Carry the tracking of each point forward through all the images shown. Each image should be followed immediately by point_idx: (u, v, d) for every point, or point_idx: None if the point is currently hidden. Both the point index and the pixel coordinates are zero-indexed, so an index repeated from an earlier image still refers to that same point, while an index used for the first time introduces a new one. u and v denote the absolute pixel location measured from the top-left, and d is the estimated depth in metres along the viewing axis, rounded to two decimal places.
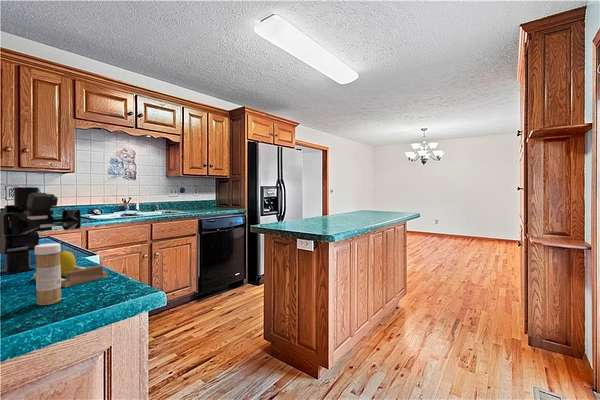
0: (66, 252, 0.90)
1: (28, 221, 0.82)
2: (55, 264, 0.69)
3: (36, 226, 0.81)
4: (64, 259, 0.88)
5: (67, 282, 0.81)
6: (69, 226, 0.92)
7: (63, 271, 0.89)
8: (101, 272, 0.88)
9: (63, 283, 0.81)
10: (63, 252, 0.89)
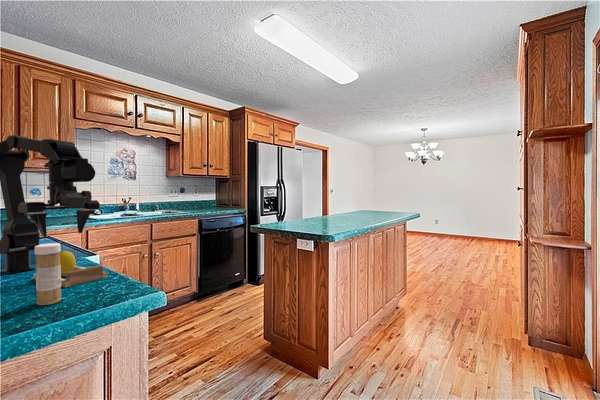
0: (66, 252, 0.90)
1: (41, 226, 0.85)
2: (55, 264, 0.69)
3: (42, 234, 0.86)
4: (64, 259, 0.88)
5: (67, 282, 0.81)
6: (77, 217, 0.95)
7: (63, 271, 0.89)
8: (101, 272, 0.88)
9: (63, 283, 0.81)
10: (63, 252, 0.89)
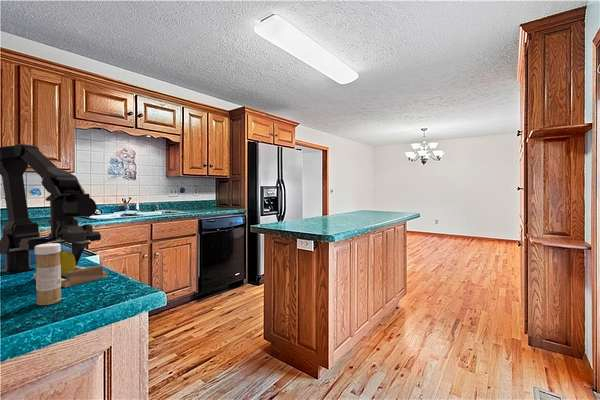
0: (66, 252, 0.90)
1: None
2: (55, 264, 0.69)
3: None
4: (64, 259, 0.88)
5: (67, 282, 0.81)
6: (72, 249, 0.94)
7: (63, 271, 0.89)
8: (101, 272, 0.88)
9: (63, 283, 0.81)
10: (63, 252, 0.89)
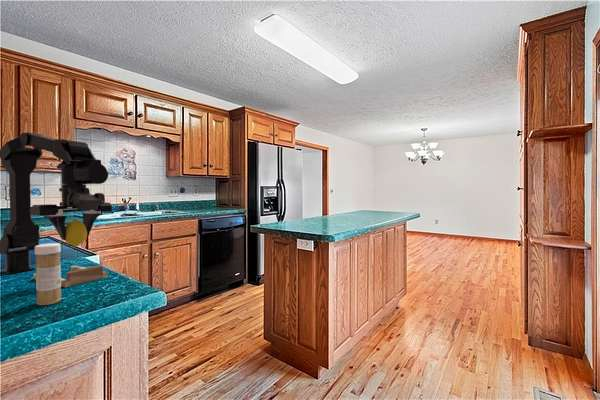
0: (77, 222, 0.87)
1: (60, 229, 0.83)
2: (55, 264, 0.69)
3: (61, 237, 0.84)
4: (75, 228, 0.85)
5: (67, 282, 0.81)
6: (83, 220, 0.91)
7: (74, 241, 0.85)
8: (101, 272, 0.88)
9: (63, 283, 0.81)
10: (74, 222, 0.86)
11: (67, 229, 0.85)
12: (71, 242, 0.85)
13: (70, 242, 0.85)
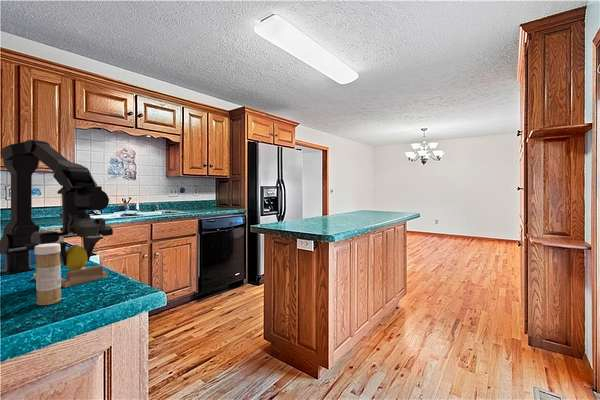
0: (78, 247, 0.87)
1: (61, 255, 0.83)
2: (55, 264, 0.69)
3: (61, 263, 0.85)
4: (76, 254, 0.86)
5: (67, 282, 0.81)
6: (84, 244, 0.91)
7: (75, 267, 0.86)
8: (101, 272, 0.88)
9: (63, 283, 0.81)
10: (75, 247, 0.86)
11: (68, 255, 0.85)
12: (72, 268, 0.85)
13: (71, 268, 0.85)
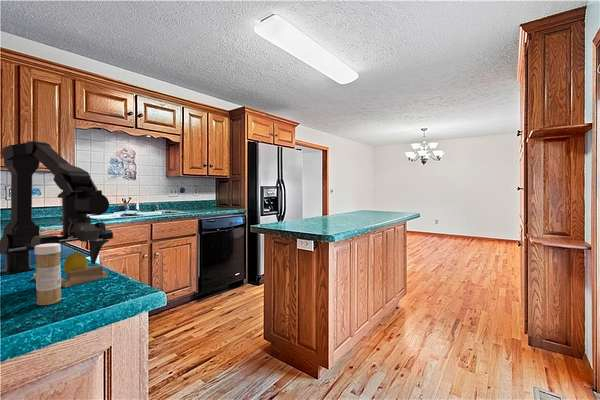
0: (78, 254, 0.87)
1: None
2: (55, 264, 0.69)
3: None
4: (76, 261, 0.85)
5: (67, 282, 0.81)
6: (90, 247, 0.92)
7: None
8: (101, 272, 0.88)
9: (63, 283, 0.81)
10: (75, 255, 0.86)
11: (68, 263, 0.85)
12: None
13: None
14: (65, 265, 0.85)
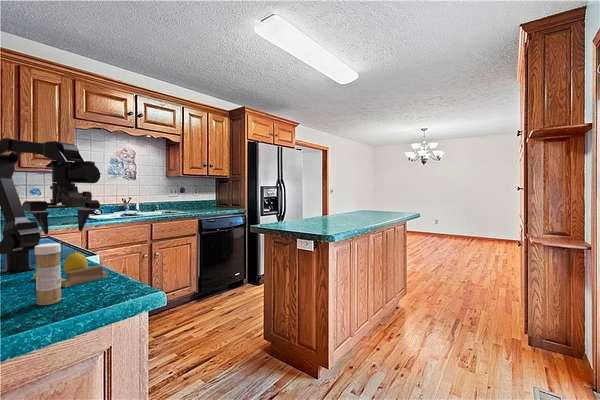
0: (78, 254, 0.87)
1: (43, 224, 0.89)
2: (55, 264, 0.69)
3: (44, 232, 0.90)
4: (76, 261, 0.85)
5: (67, 282, 0.81)
6: (78, 216, 0.99)
7: None
8: (101, 272, 0.88)
9: (63, 283, 0.81)
10: (75, 255, 0.86)
11: (68, 263, 0.85)
12: None
13: None
14: (65, 265, 0.85)
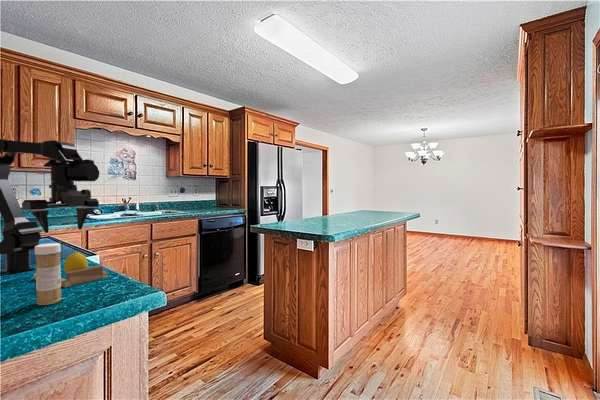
0: (78, 254, 0.87)
1: (43, 222, 0.90)
2: (55, 264, 0.69)
3: (44, 230, 0.91)
4: (76, 261, 0.86)
5: (67, 282, 0.81)
6: (77, 214, 1.00)
7: None
8: (101, 272, 0.88)
9: (63, 283, 0.81)
10: (75, 254, 0.86)
11: (68, 263, 0.85)
12: None
13: None
14: (65, 265, 0.85)
